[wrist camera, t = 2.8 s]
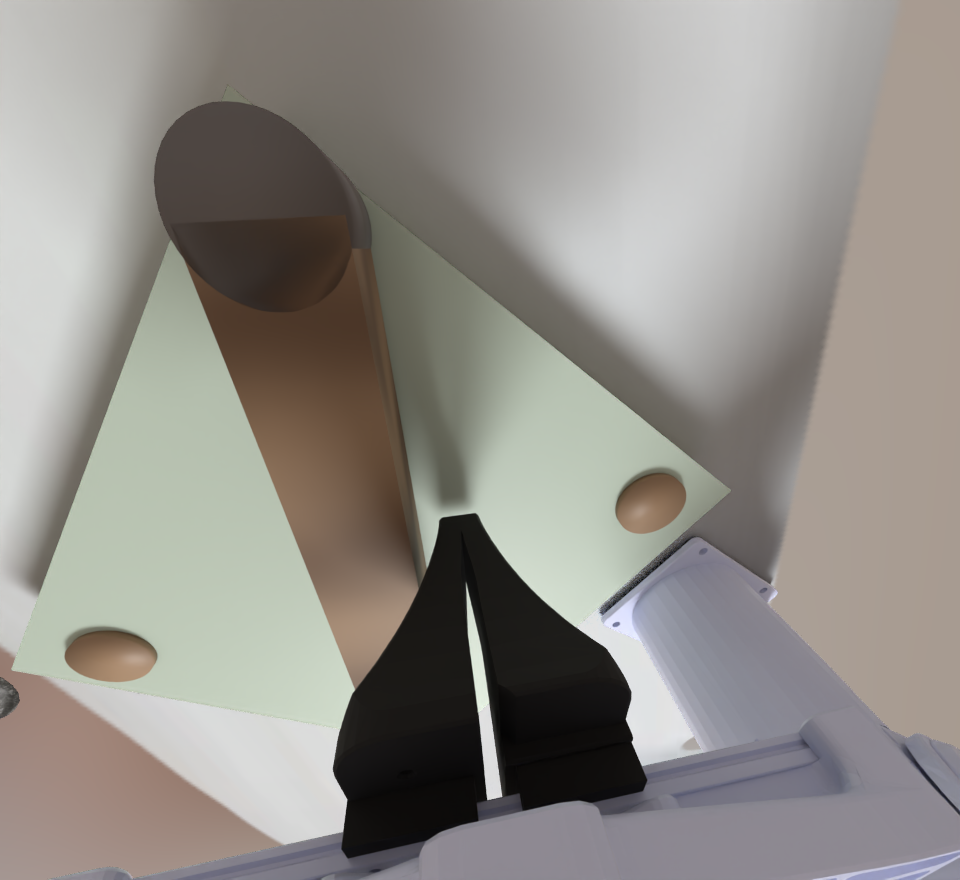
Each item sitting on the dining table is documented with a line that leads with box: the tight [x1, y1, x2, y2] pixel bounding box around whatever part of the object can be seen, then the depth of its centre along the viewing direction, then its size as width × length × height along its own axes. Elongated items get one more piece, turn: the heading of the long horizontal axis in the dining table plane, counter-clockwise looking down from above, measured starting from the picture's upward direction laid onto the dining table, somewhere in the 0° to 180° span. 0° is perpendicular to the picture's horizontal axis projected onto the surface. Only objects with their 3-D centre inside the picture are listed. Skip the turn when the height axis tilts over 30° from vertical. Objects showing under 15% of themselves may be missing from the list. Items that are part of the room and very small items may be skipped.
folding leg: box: [154, 101, 427, 689], centre depth 11 cm, size 18×3×3 cm, turn 3°
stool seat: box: [11, 85, 731, 729], centre depth 16 cm, size 21×23×3 cm
